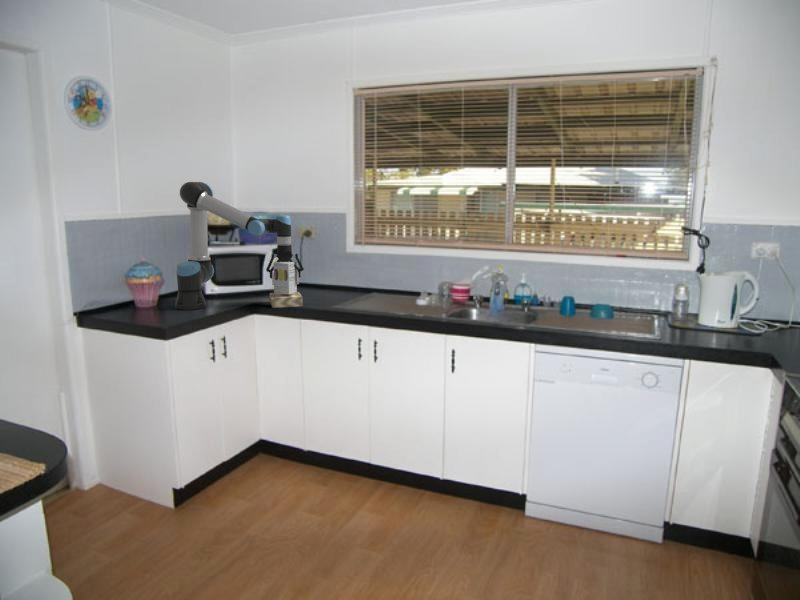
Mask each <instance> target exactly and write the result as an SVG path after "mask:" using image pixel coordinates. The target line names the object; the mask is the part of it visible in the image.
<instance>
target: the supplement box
mask: <svg viewBox="0 0 800 600" xmlns="http://www.w3.org/2000/svg"><path fill="white" fill-rule="evenodd" d="M294 263H295V265H296V266H297V261H293V262H290V261H289V262H281V261H280V262H277V261H273V262H272V266H274V270H273V273H274V285H273V293H278V294H292V293H294V292H298V288H297V287H298V286H297V285H298V284H297V271H298V270H297V269H296V268H295V267H294Z"/></svg>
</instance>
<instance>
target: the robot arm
mask: <svg viewBox="0 0 800 600" xmlns="http://www.w3.org/2000/svg"><path fill="white" fill-rule="evenodd" d="M179 196H180V199H181V200H182V201H183V203H185V204H186V207H187V209H188V210H189V213H190V214H189V215H190V217H189V218H190V256H189V257H188V258H187V261H184V262H183V261H182V262H179V263H178V264H176V270H175V271H176V282H177V283H176V284H177V296H176V300H175V305H174V306H175V309H177V310H183V311H187V310H190V311H191V310H199V309H203V308H206V306H207V302H206V299H205V297H204V296H205V295H204V294H203V292H202V291H203V289H202V284H204V283H206V282H208V281H210V280H211V279H212V277H213V276H214V273H215V270H214V265H213V264H212V260H211V257H210V256H209V251H208V250H209V249H208V246H209V245H208V244H209V242H208V241H209V239H208V236H209V235H208V212H209V213H211V214H212V215H215V216H216V217H219V218H221V219H223V220H225V221H227V222H229V223H231V224H233V225H235V226H237V227H240V228H242V229H244V230H246V231H248V232H249V234H251V235H253V236H261V235H265V234H276V243H277V246H276V249H277V251H276V253H271V256H270V259H269V262H268V264H267V267H266V272H267V273H269V279H271V284H272V286H274V265H273V263H274V259H276V258H277V260H276V262H280V261H281V262H289V261H290V262H294V260H292V258H293V257H294V258H295V259H296V263H297V264H298V265H297V264H296V265H295V263H294V267H295V268H296V270H297V285H299V284H300V283H299V282H300V281H299V278H301V275H302V274H301V272H302V271H304V270H305V269H304V267H303V265H302V263H301V261H300V259H299V255H298V253H293V252H292V247H293V246H292V222H291V221H292V219H291V216H290V215H287V214H286V215H285V214H284V215H282V214H281V215H280V214H279V215H276V217H275V218H273V219H272V218H257V217H255V216H252V215H250V214H248V213H246V212H244V211H242V210H240V209H237V208H236V207H234V206H231V205H230V204H227V203H226V202H223V201H222V200H219V199H217V198H216V197H214V192H213V189H212V187H211V186H210V185H209V184H208V183H205V182H202V181H188V182H185V183H183V184H182V185H181V187H180V189H179ZM298 266H299V267H298Z"/></svg>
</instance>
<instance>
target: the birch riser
mask: <svg viewBox="0 0 800 600" xmlns="http://www.w3.org/2000/svg"><path fill="white" fill-rule="evenodd" d="M303 300H304V299H303V296H302V294H301V293H300V292H299V291H297V292H294V293H292V294H278V293H274V292H269V303H270V305H271V308H274V309H276V308H289V307H290V308H292V307H293V308H294V307H295V308H296V307H297V308H298V307H303V306H304V303H303V302H304V301H303Z"/></svg>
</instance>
